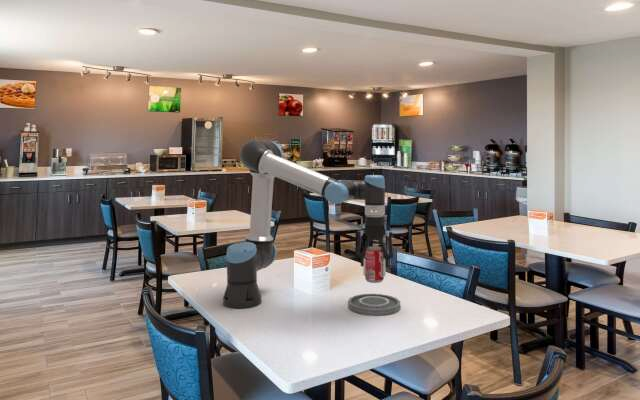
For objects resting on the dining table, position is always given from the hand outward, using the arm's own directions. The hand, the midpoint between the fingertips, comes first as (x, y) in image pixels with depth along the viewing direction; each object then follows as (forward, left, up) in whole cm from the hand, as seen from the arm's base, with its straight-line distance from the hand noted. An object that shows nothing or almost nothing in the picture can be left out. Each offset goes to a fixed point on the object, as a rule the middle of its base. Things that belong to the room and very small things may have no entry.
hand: (374, 275), depth 181 cm
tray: (0, 0, -13) cm, 13 cm away
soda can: (0, 0, -3) cm, 3 cm away
